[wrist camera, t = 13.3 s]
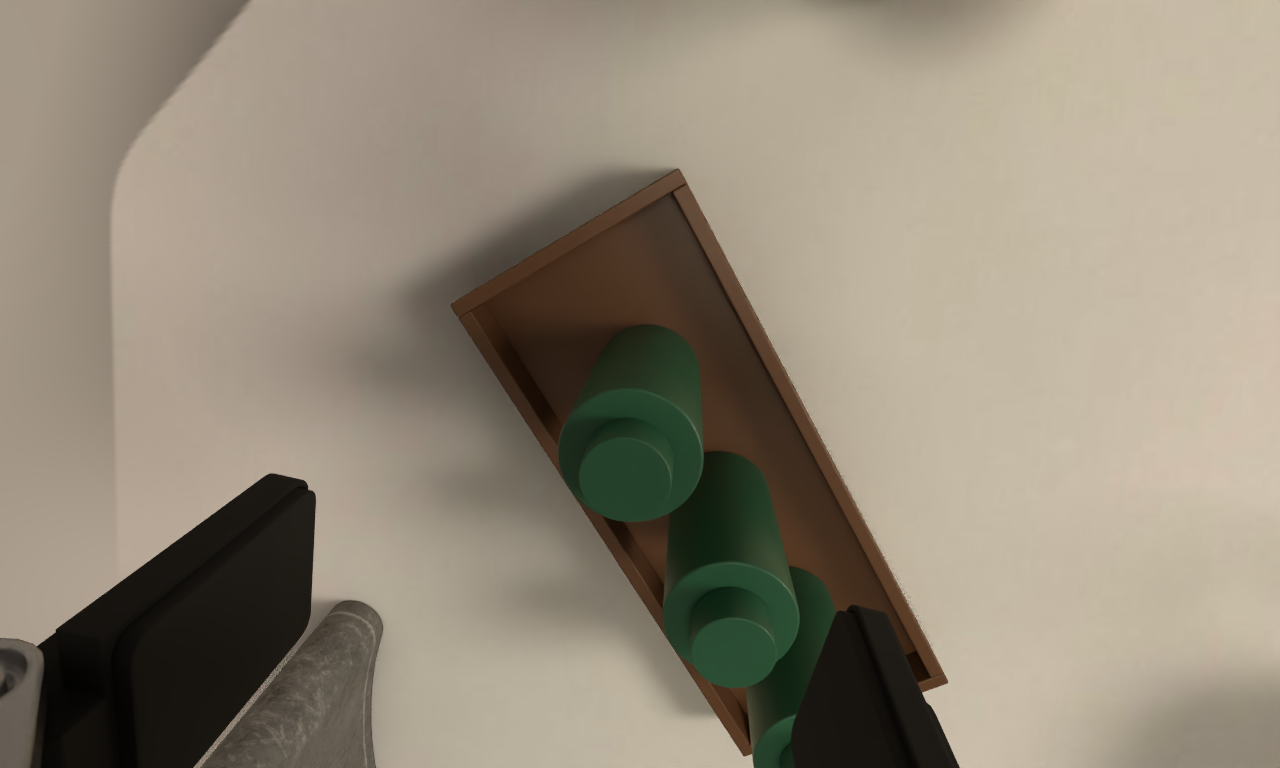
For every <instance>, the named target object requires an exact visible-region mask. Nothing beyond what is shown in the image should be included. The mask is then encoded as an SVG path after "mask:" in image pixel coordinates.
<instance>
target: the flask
mask: <svg viewBox="0 0 1280 768" xmlns="http://www.w3.org/2000/svg"><path fill="white" fill-rule="evenodd" d="M382 631H383V626H382V622H381V619H380V617H379V616H378V615H377V613H376V612H375V611H374V610H373V609H372V608H370V607H369V606H367V605H365V604H363V603H360V602H356V601H345V602H342V603H339V604H337V605H336V606H335V607H334V608H333V609H332V610H331V611H330V613H329V614H328V615H327V616H326V617H325V619H324V620H323V621H322V622H321V623H320V625H319V626H318V627H317V628H316V629H315V631H314V632H313V633H312V634H311V635H310V637H309V638H308V639H307V640H306V641H305V643H304V644H303V645H302V646H301V647H300V649H299V650H298V651H297V652H296V653H295V655H294V656H293V657H292V658H291V659H290V661H289V662H288V663H287V664H286V665H285V667H284V668H283V669H282V670H281V671H280V673H279V674H278V675H277V676H276V677H275V679H274V680H273V681H272V682H271V683H270V685H269V686H268V687H267V688H266V689H265V691H264V692H263V693H262V694H261V695H260V697H259V698H258V699H257V700H256V701H255V703H254V704H253V705H252V706H251V708H250V709H249V710H248V711H247V712H246V714H245V715H244V716H243V717H242V718H241V720H240V721H239V722H238V723H237V724H236V726H235V727H234V728H233V729H232V730H231V732H230V733H229V734H228V735H227V736H226V738H225V739H224V740H223V741H222V742H221V744H220V745H219V746H218V747H217V748H216V750H215V751H214V752H213V753H212V754H211V756H210V757H209V758H208V759H207V760H206V762H205V763H204V764H203V765H202V766H201V768H376V767H375V762H374V755H373V746H372V735H371V695H372V682H373V673H374V667H375V660H376V656H377V651H378V647H379V643H380V639H381V636H382Z"/></svg>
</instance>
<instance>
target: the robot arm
mask: <svg viewBox="0 0 1280 768" xmlns="http://www.w3.org/2000/svg"><path fill="white" fill-rule="evenodd" d="M315 507H316V495H315V493H314V492H313V491H310V490H308V485H307V483H306V482H305V481H304V480H300V479H296V478H291V477H287V476H283V475H278V474H268V475H266V476H264V477H263V478H262V479H260V480H259V481H258V482H256V483H255V484H254V485H252V486H251V487H249V488H248V489H247V490H245V491H244V492H243V493H241V494H240V495H239V496H237V497H236V498H234V499H233V500H232V501H230V502H229V503H228V504H226V505H225V506H224V507H222V508H221V509H219V510H218V511H217V512H215V513H214V514H213V515H211V516H210V517H209V518H207V519H206V520H204V521H203V522H202V523H200V524H199V525H198V526H196V527H195V528H194V529H192V530H191V531H189V532H188V533H187V534H185V535H184V536H183V537H181V538H180V539H179V540H177V541H176V542H174V543H173V544H172V545H170V546H169V547H168V548H166V549H165V550H164V551H162V552H161V553H159V554H158V555H157V556H155V557H154V558H153V559H151V560H150V561H149V562H147V563H146V564H144V565H143V566H142V567H140V568H139V569H138V570H136V571H135V572H134V573H132V574H131V575H129V576H128V577H127V578H125V579H124V580H123V581H121V582H120V583H119V584H117V585H116V586H115V587H113V588H112V589H110V590H109V591H108V592H107V593H105V594H104V595H102V596H101V597H99V598H98V599H97V600H95V601H94V602H93V603H91V604H90V605H89V606H87V607H86V608H84V609H83V610H82V611H80V612H79V613H78V614H76V615H75V616H74V617H72V618H71V619H70V620H68V621H67V622H65V623H64V624H63V625H61V626H60V627H59V628H57V629H56V633H54V634H53V635H52V636H50V637H49V638H48V639H46V640H45V641H44V642H42V643H41V644H39V645H38V646H37V647H36V646H35V645H34V644H32V643H29V642H26V641H23V640H20V639H6V638H0V768H193V767H194V766H195V765H196V764H197V762H198V761H199V760H200V759H201V758H202V756H203V755H204V754H205V753H206V752H207V750H208V749H209V748H210V747H211V745H212V744H213V743H214V742H215V741H216V739H217V738H218V737H219V736H220V735H221V733H222V732H223V731H224V730H225V728H226V727H227V726H228V725H229V724H230V722H231V721H232V720H233V719H234V718H235V716H236V715H237V714H238V713H239V711H240V710H241V709H242V708H243V707H244V705H245V704H246V703H247V702H248V701H249V699H250V698H251V697H252V696H253V694H254V693H255V692H256V691H257V690H258V688H259V687H260V686H261V685H262V684H263V682H264V681H265V680H266V679H267V677H268V676H269V675H270V674H271V673H272V671H273V670H274V669H275V668H276V666H277V665H278V664H279V663H280V662H281V660H282V659H283V658H284V657H285V656H286V654H287V653H288V652H289V651H290V649H291V648H292V647H293V646H294V645H295V643H296V642H297V641H298V640H299V639H300V637H301V636H302V634H303V633H304V631H305V629H306V627H307V625H308V622H309V619H310V613H311V594H312V572H313V550H314V529H315ZM791 747H792V753H793V759H794V765H795V768H960V767H959V765H958V763H957V761H956V759H955V756H954V754H953V752H952V750H951V747H950V745H949V743H948V741H947V739H946V736H945V734H944V732H943V730H942V727H941V725H940V723H939V721H938V718H937V716H936V714H935V712H934V711H933V709H932V707H931V706H930V705H929V704H928V703H926V701H925V699H924V696H923V694H922V692H921V689H920V687H919V685H918V683H917V680H916V678H915V676H914V674H913V671H912V669H911V667H910V664H909V662H908V660H907V658H906V655H905V653H904V651H903V649H902V646H901V644H900V642H899V640H898V637H897V635H896V633H895V630H894V628H893V626H892V624H891V621H890V619H889V617H888V615H887V614H886V613H885V612H883V611H880V610H875V609H871V608H867V607H862V606H858V605H850V606H849V607H848V608H847V610H846V611H841V610H840V611H838V612H837V613H836V615H835V617H834V619H833V622H832V624H831V627H830V630H829V632H828V635H827V637H826V640H825V642H824V645H823V648H822V650H821V653H820V655H819V658H818V661H817V663H816V666H815V668H814V671H813V673H812V676H811V679H810V681H809V684H808V686H807V689H806V692H805V694H804V697H803V699H802V702H801V704H800V707H799V710H798V712H797V715H796V717H795V720H794V723H793V726H792V732H791Z"/></svg>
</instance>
